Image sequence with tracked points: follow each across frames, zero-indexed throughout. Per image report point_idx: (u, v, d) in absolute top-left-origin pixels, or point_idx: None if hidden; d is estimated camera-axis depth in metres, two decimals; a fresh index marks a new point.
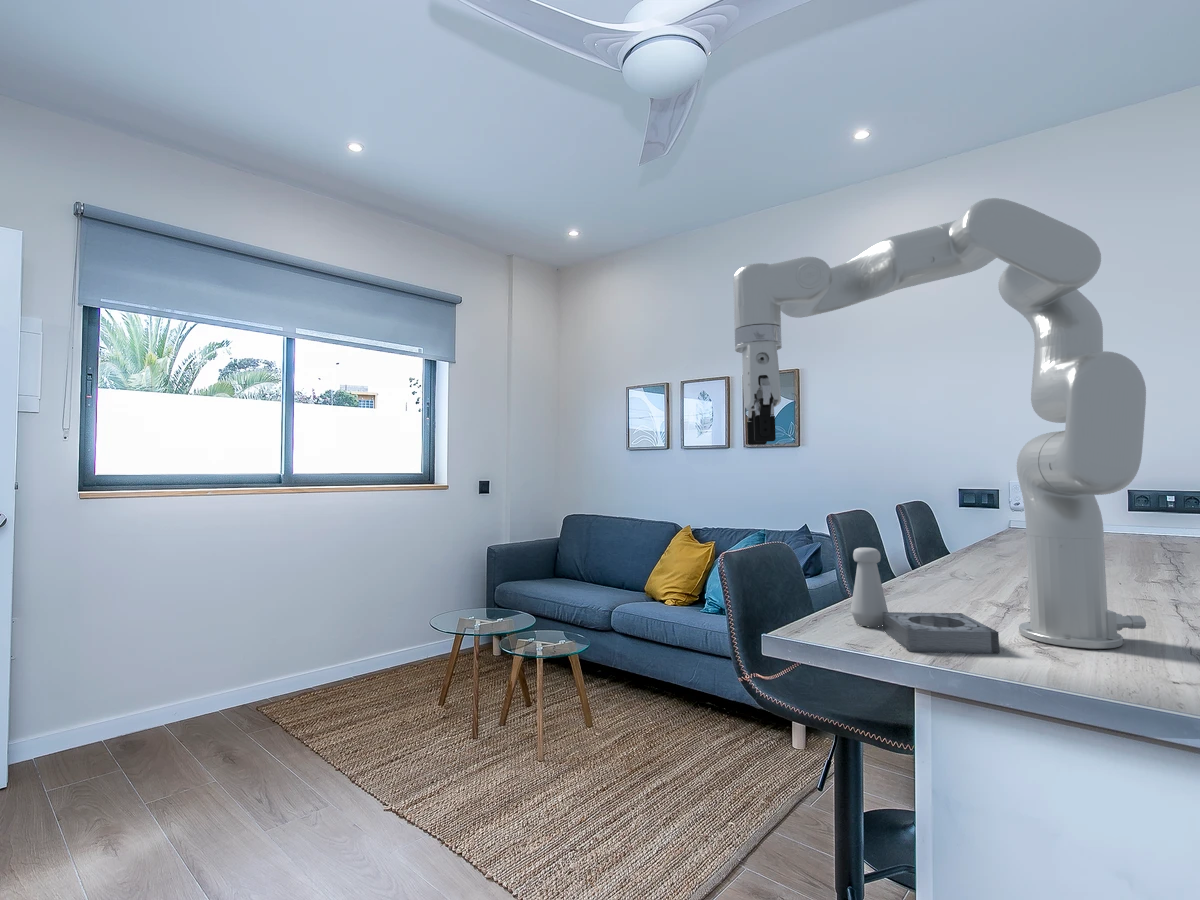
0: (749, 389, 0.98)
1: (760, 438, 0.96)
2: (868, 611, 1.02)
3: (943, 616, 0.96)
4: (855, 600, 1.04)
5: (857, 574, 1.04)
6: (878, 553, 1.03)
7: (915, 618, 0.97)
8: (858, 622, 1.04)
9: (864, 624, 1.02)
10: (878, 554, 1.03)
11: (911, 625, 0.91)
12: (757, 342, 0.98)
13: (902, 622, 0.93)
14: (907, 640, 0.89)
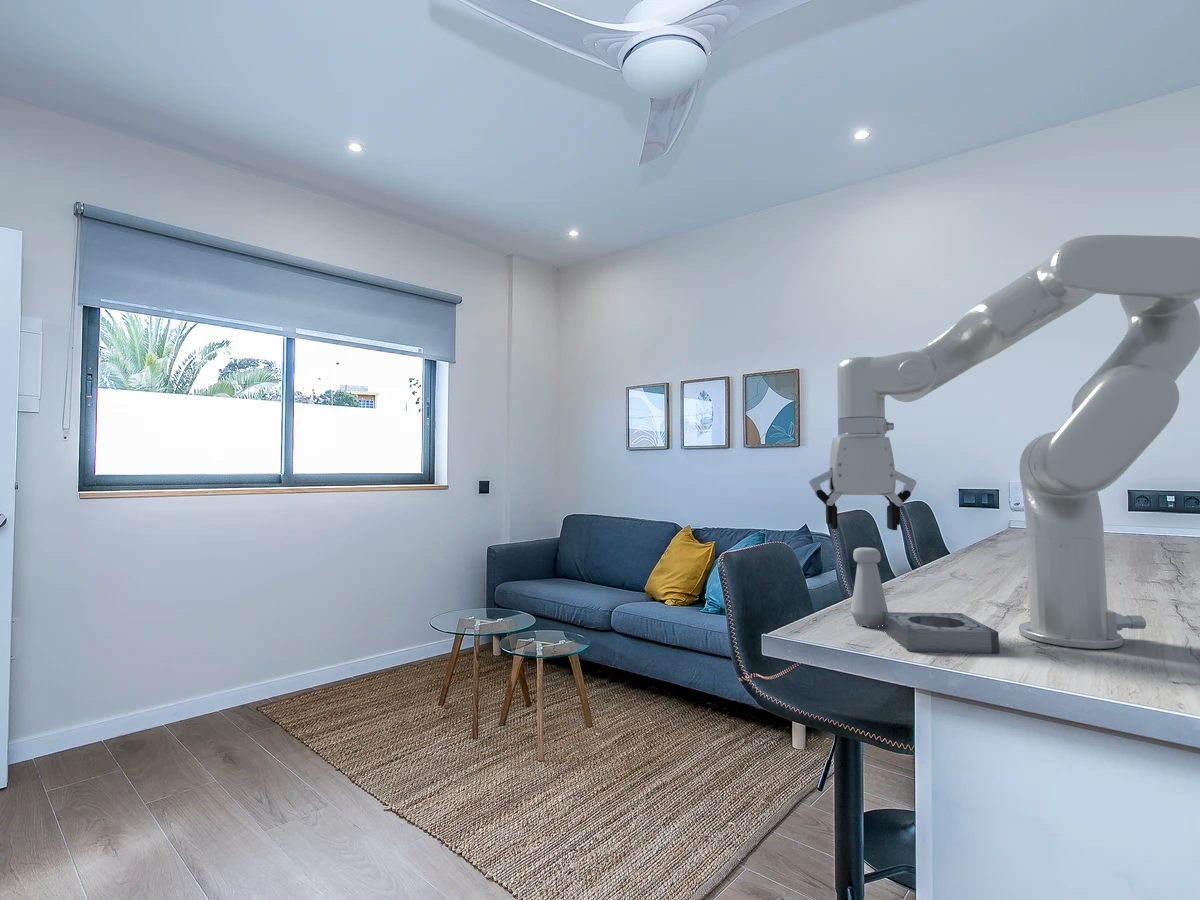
0: (891, 480, 1.03)
1: None
2: (869, 611, 1.02)
3: (943, 616, 0.96)
4: (855, 600, 1.04)
5: (857, 574, 1.04)
6: (878, 553, 1.03)
7: (915, 618, 0.97)
8: (858, 622, 1.04)
9: (864, 624, 1.02)
10: (878, 554, 1.03)
11: (911, 625, 0.91)
12: None
13: (902, 622, 0.93)
14: (907, 640, 0.89)
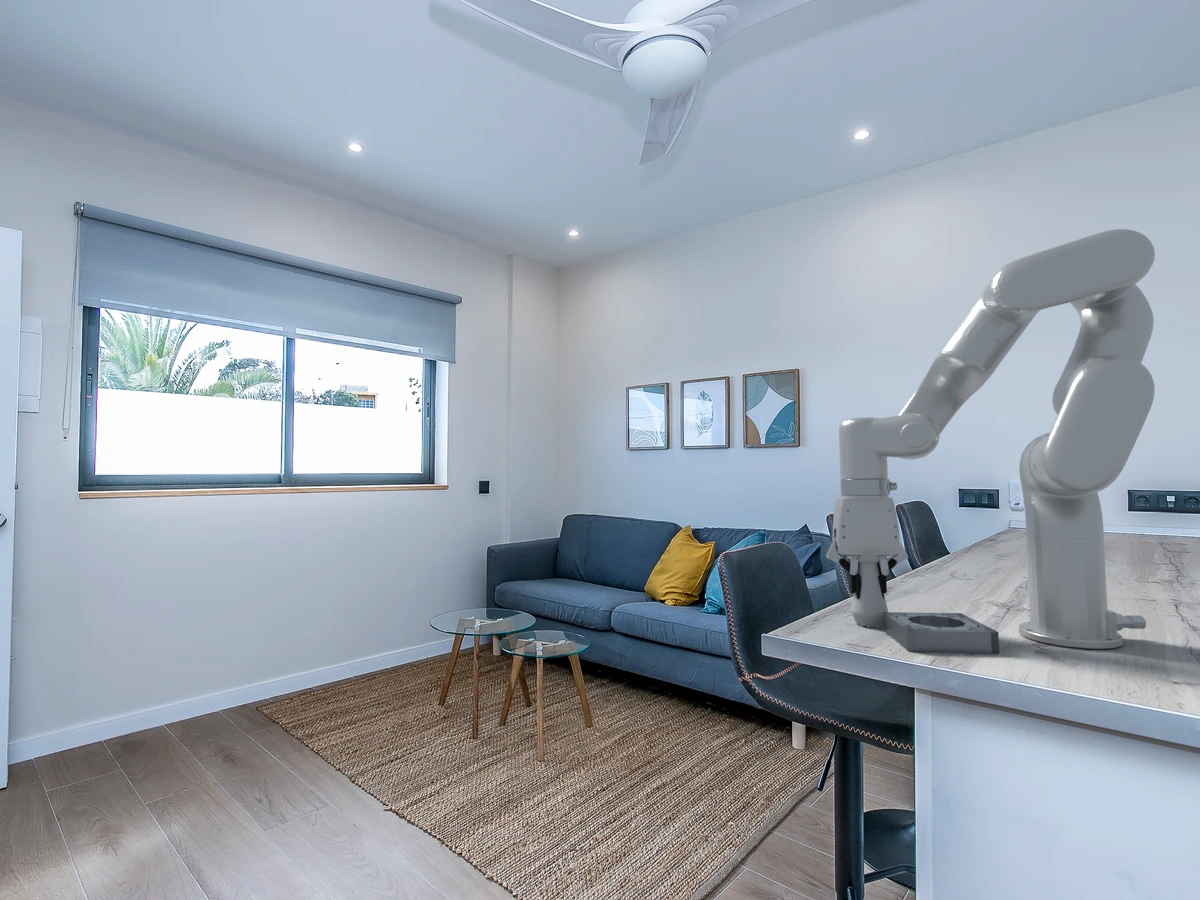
0: (895, 541, 1.02)
1: None
2: (869, 611, 1.02)
3: (943, 616, 0.96)
4: (855, 600, 1.04)
5: None
6: None
7: (915, 618, 0.97)
8: (858, 622, 1.04)
9: (864, 624, 1.02)
10: None
11: (911, 625, 0.91)
12: None
13: (902, 622, 0.93)
14: (907, 640, 0.89)
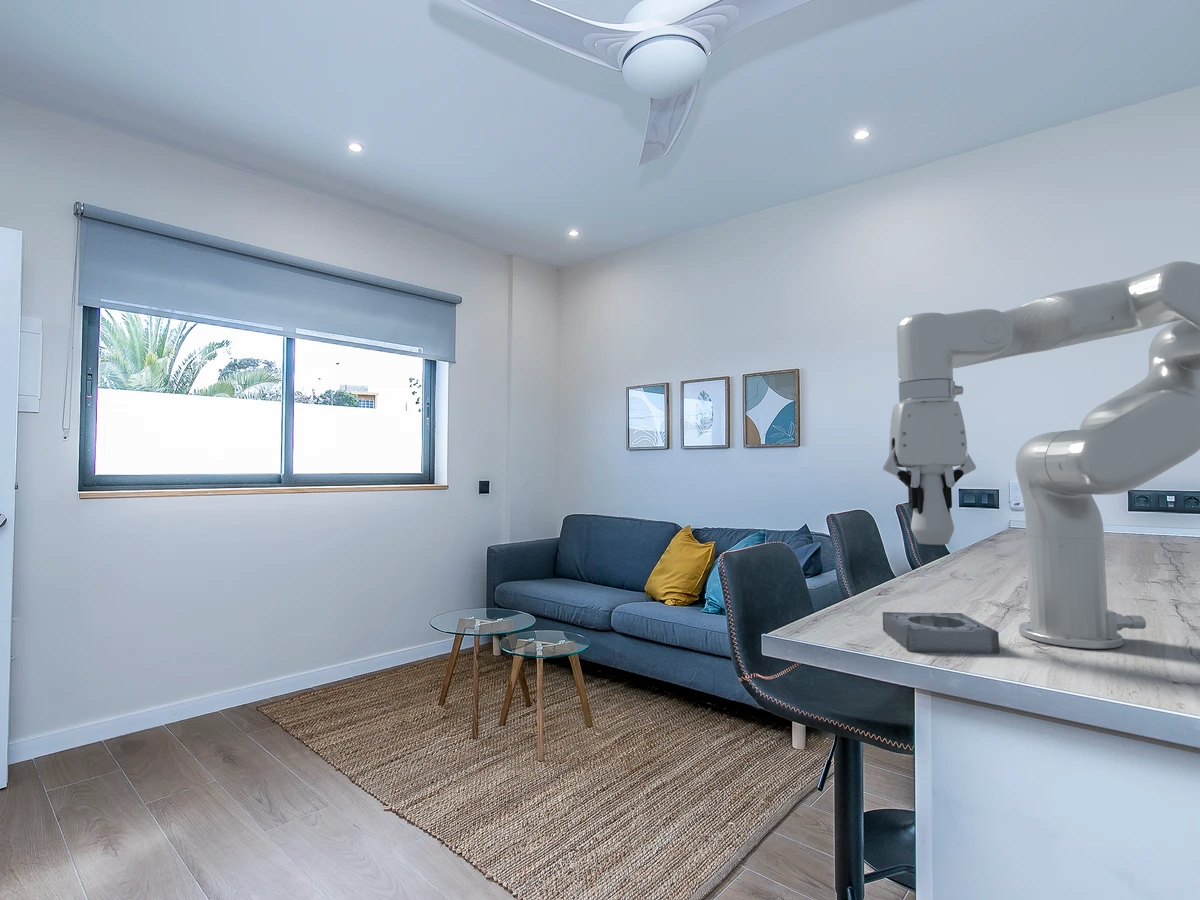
0: (963, 449, 0.92)
1: None
2: (933, 526, 0.91)
3: (943, 616, 0.96)
4: (917, 515, 0.93)
5: None
6: None
7: (915, 618, 0.97)
8: (920, 540, 0.93)
9: (927, 541, 0.92)
10: None
11: (911, 625, 0.91)
12: None
13: (902, 622, 0.93)
14: (907, 640, 0.89)
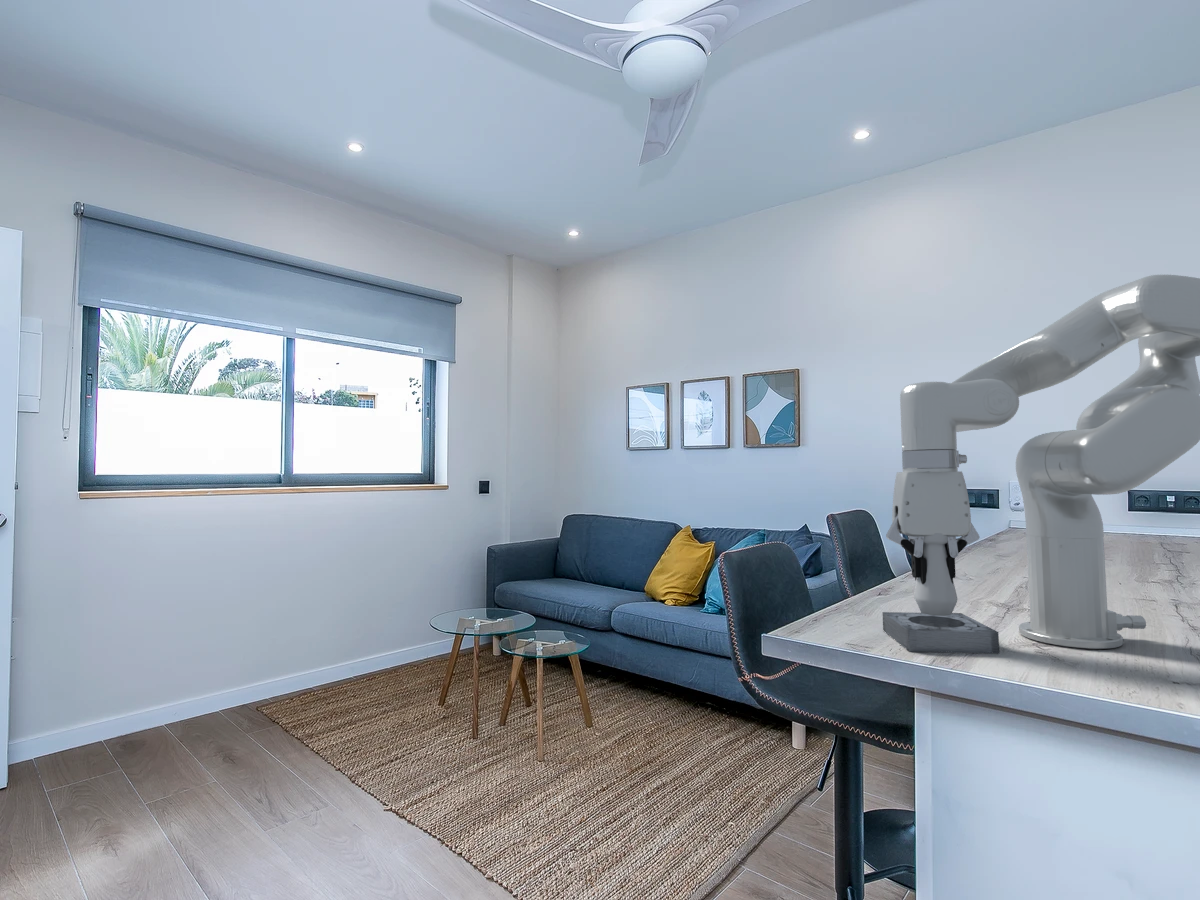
0: (966, 520, 0.91)
1: None
2: (936, 597, 0.91)
3: (943, 616, 0.96)
4: (920, 585, 0.93)
5: None
6: None
7: (915, 618, 0.97)
8: (923, 610, 0.93)
9: (931, 612, 0.92)
10: None
11: (911, 625, 0.91)
12: None
13: (902, 622, 0.93)
14: (907, 640, 0.89)
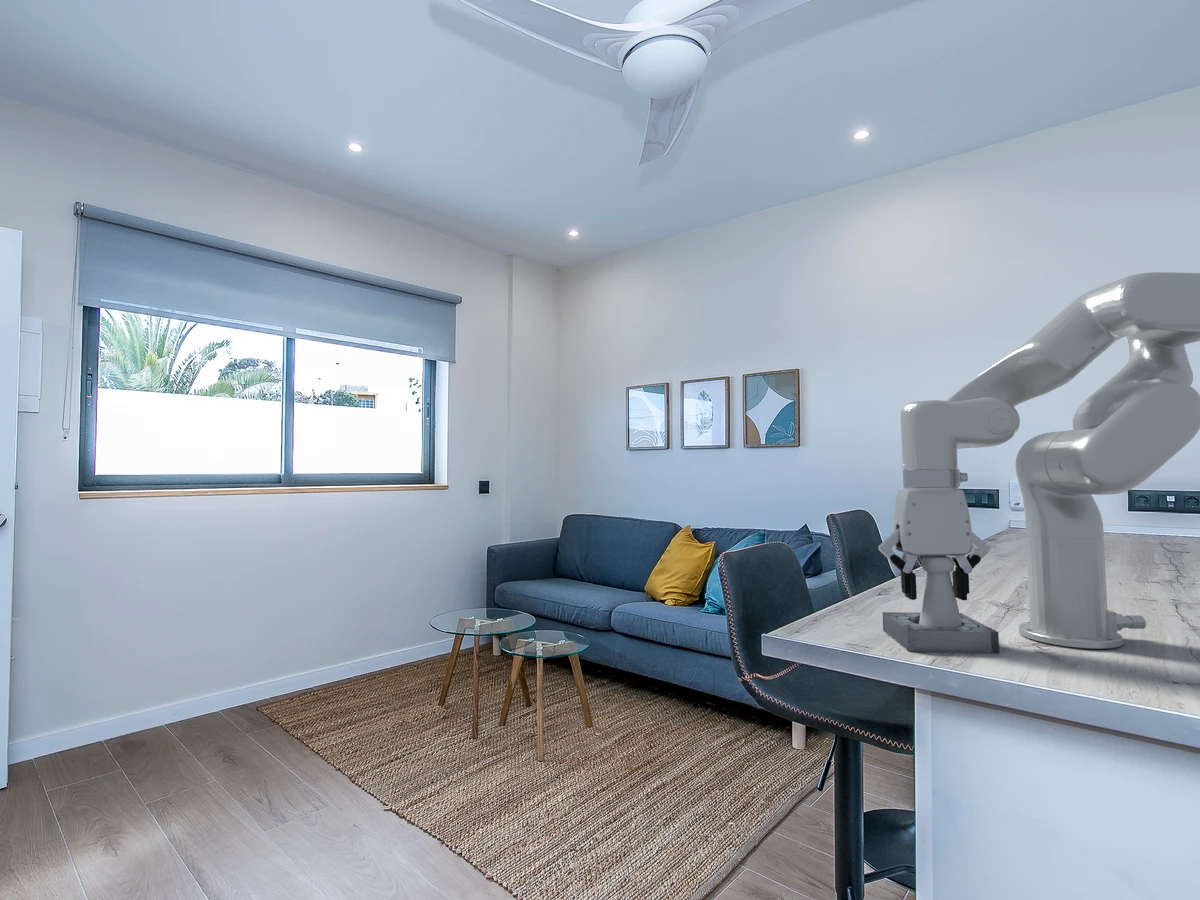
0: (968, 539, 0.91)
1: None
2: (942, 626, 0.91)
3: None
4: (925, 614, 0.93)
5: (927, 585, 0.93)
6: (951, 561, 0.92)
7: (915, 618, 0.97)
8: None
9: None
10: (951, 563, 0.92)
11: (911, 625, 0.91)
12: None
13: (902, 622, 0.93)
14: (907, 640, 0.89)
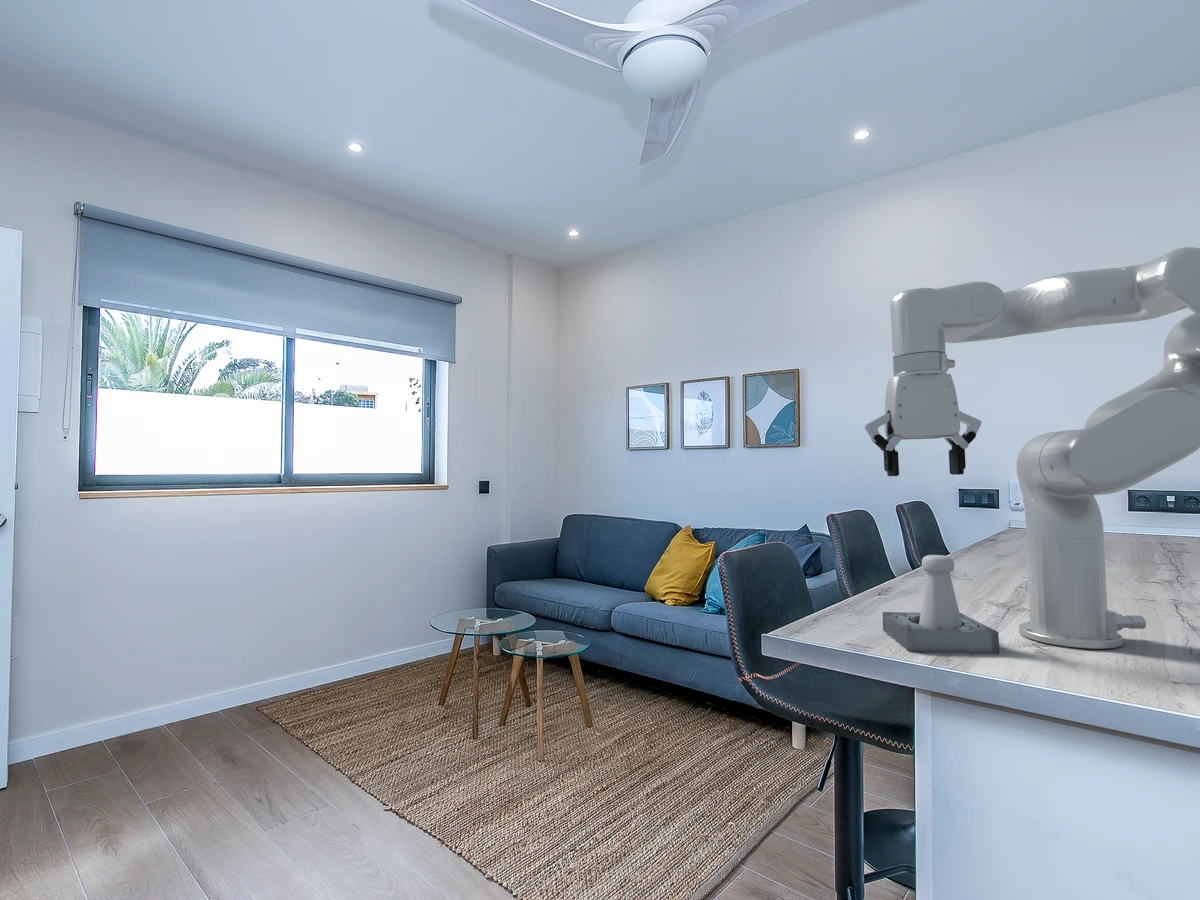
0: (956, 420, 0.95)
1: None
2: (942, 626, 0.91)
3: None
4: (925, 614, 0.93)
5: (927, 585, 0.93)
6: (952, 561, 0.92)
7: (915, 618, 0.97)
8: None
9: None
10: (952, 563, 0.92)
11: (911, 625, 0.91)
12: None
13: (902, 622, 0.93)
14: (907, 640, 0.89)
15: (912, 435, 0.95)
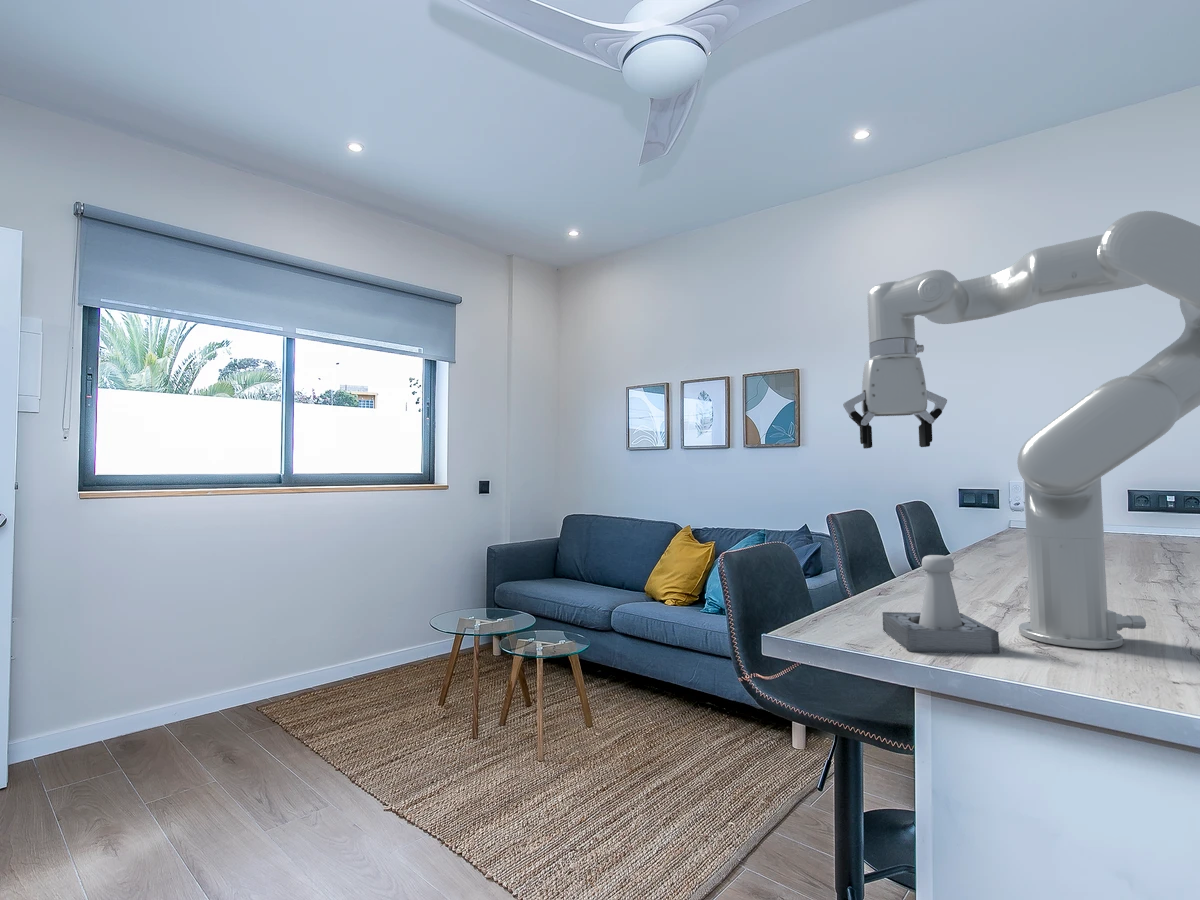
0: (923, 398, 1.07)
1: None
2: (942, 626, 0.91)
3: None
4: (925, 614, 0.93)
5: (927, 585, 0.93)
6: (951, 561, 0.92)
7: (915, 618, 0.97)
8: None
9: None
10: (951, 563, 0.92)
11: (911, 625, 0.91)
12: None
13: (902, 622, 0.93)
14: (907, 640, 0.89)
15: (884, 411, 1.08)
